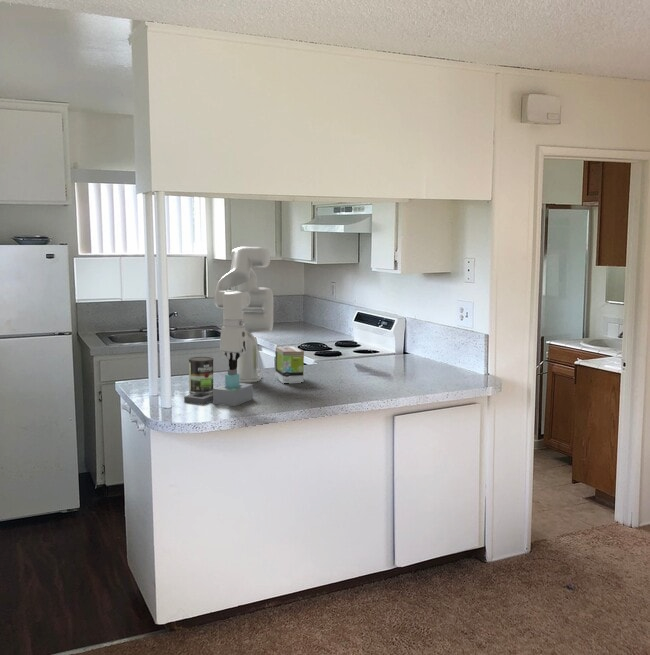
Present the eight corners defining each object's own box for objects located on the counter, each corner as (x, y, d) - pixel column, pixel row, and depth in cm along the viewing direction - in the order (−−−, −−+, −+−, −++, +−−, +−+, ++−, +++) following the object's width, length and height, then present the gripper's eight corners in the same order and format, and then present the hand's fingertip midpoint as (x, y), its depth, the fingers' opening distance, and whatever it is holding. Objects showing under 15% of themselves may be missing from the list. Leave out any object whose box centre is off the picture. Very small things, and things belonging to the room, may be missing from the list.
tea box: (304, 383, 320) (304, 350, 318) (282, 384, 317) (282, 351, 315) (295, 376, 334) (295, 345, 332) (274, 377, 331) (274, 346, 329)
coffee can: (218, 392, 300) (217, 359, 298) (195, 395, 294) (195, 361, 292) (206, 387, 308) (206, 355, 306) (184, 390, 302) (184, 357, 300)
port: (231, 396, 293) (231, 381, 292) (252, 398, 289) (252, 383, 288) (213, 403, 280) (212, 387, 279) (235, 406, 276) (235, 390, 275)
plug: (232, 394, 287) (231, 367, 285) (239, 395, 285) (239, 368, 284) (225, 397, 282) (225, 370, 281) (232, 398, 281) (232, 370, 279)
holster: (198, 396, 291) (198, 391, 291) (217, 399, 287) (217, 393, 287) (184, 402, 282) (184, 396, 282) (203, 404, 278) (203, 399, 278)
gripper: (254, 323, 280) (254, 369, 283) (221, 321, 286) (221, 366, 289) (244, 325, 274) (244, 372, 276) (211, 323, 280) (211, 369, 282)
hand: (233, 369), depth 282 cm, fingers closed
